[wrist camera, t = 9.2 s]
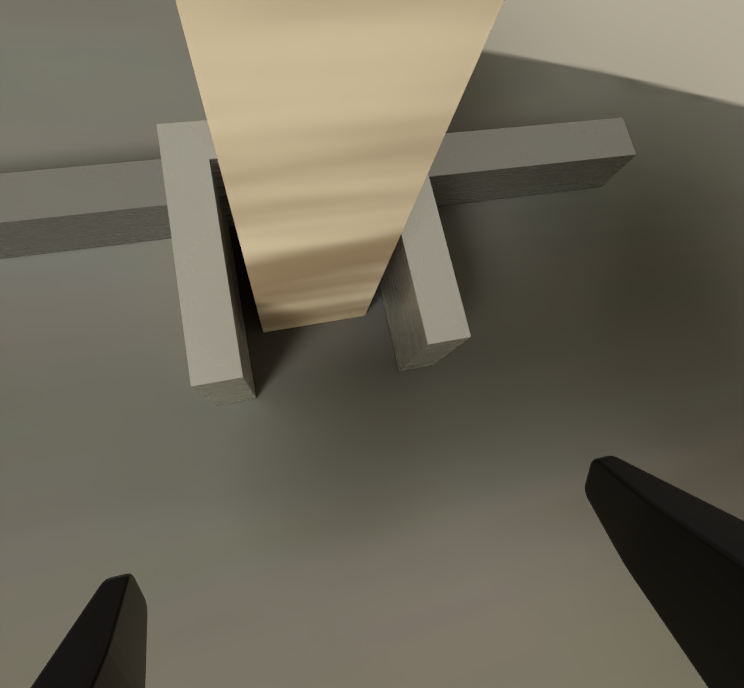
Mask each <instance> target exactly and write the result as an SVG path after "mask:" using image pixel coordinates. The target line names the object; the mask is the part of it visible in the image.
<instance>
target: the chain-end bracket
mask: <svg viewBox="0 0 744 688" xmlns="http://www.w3.org/2000/svg"><path fill="white" fill-rule="evenodd" d="M157 130H158V138H159V145H160V153H161V159H155V160H144V161H133V162H121V163H110V164H99V165H88V166H77V167H66V168H55V169H44V170H33V171H21V172H10V173H0V259H2V258H10V257H18V256H27V255H35V254H43V253H52V252H60V251H68V250H76V249H85V248H93V247H101V246H110V245H118V244H126V243H135V242H143V241H151V240H160V239H168V238H172V245H173V252H174V260H175V268H176V275H177V283H178V291H179V298H180V306H181V313H182V321H183V329H184V336H185V344H186V352H187V359H188V367H189V375H190V382H191V387H192V388H194V389H195V390H197V391H198V392H199V393H201V394H202V395H203V396H205V397H206V398H207V399H209V400H210V401H212V402H213V403H214V404H216V405H217V406H218V405H223V404H228V403H234V402H239V401H244V400H250V399H255V398H256V394H255V388H254V381H253V375H252V369H251V363H250V356H249V350H248V344H247V338H246V331H245V325H244V319H243V312H242V306H241V300H240V294H239V287H238V281H237V275H236V269H235V262H234V256H233V250H232V243H231V237H230V231H229V226H235V223H234V219H233V216H232V212H231V208H230V204H229V200H228V197H227V193H226V189H225V185H224V182H223V178H222V174H221V170H220V166H219V163H218V159H217V155H216V151H215V147H214V144H213V140H212V136H211V132H210V129H209V125H208V121H207V120H205V121H192V122H179V123H166V124H157ZM635 155H636V152H635V149H634V147H633V144H632V141H631V138H630V136H629V133H628V130H627V128H626V125H625V122H624V119H623V117H622V118H611V119H600V120H588V121H577V122H566V123H555V124H544V125H533V126H522V127H511V128H499V129H488V130H477V131H466V132H455V133H445V136H444V138H443V140H442V142H441V145H440V147H439V149H438V151H437V154H436V156H435V158H434V161H433V163H432V165H431V167H430V170H429V172H428V174H427V176H426V179H425V181H424V183H423V185H422V188H421V190H420V192H419V194H418V197H417V199H416V201H415V203H414V206H413V208H412V210H411V213H410V215H409V217H408V219H407V222H406V224H405V226H404V228H403V231H402V233H401V235H400V237H399V240H398V242H397V244H396V246H395V249H394V251H393V253H392V255H391V258H390V260H389V262H388V265H387V267H386V269H385V271H384V274H383V276H382V278H381V280H380V283H379V285H380V290H381V294H382V299H383V303H384V308H385V312H386V317H387V321H388V325H389V330H390V334H391V339H392V343H393V348H394V352H395V356H396V361H397V365H398V370H399V372H400V371H405V370H411V369H416V368H421V367H427V366H432V365H434V364H435V363H437V362H438V361H439V360H441V359H442V358H443V357H445V356H446V355H447V354H449V353H450V352H451V351H453V350H454V349H455V348H457V347H458V346H459V345H461V344H462V343H463V342H465V341H466V340H467V339H469V338H470V337H471V335H470V331H469V327H468V324H467V320H466V316H465V312H464V308H463V305H462V301H461V297H460V293H459V289H458V285H457V282H456V278H455V274H454V270H453V266H452V263H451V259H450V255H449V251H448V247H447V244H446V240H445V236H444V232H443V228H442V224H441V221H440V217H439V213H438V209H437V206H443V205H451V204H459V203H468V202H476V201H484V200H493V199H501V198H509V197H518V196H526V195H534V194H543V193H551V192H559V191H568V190H576V189H584V188H593V187H601V186H603V185H604V184H605V183H606V182H607V181H608V180H609V179H610V178H611V177H612V176H613V175H615V174H616V173H617V172H618V171H619V170H620V169H621V168H622V167H623V166H624V165H625V164H626V163H628V162H629V161H630V160H631V159H632V158H633V157H634V156H635Z"/></svg>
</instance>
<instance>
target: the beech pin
mask: <svg viewBox="0 0 744 688" xmlns="http://www.w3.org/2000/svg"><path fill="white" fill-rule="evenodd" d="M503 2H504V0H176V4H177V7H178V11H179V15H180V19H181V23H182V26H183V30H184V34H185V38H186V41H187V45H188V49H189V53H190V57H191V60H192V64H193V68H194V72H195V76H196V79H197V83H198V87H199V91H200V94H201V98H202V102H203V106H204V110H205V113H206V117H207V121H208V125H209V129H210V132H211V136H212V140H213V144H214V147H215V151H216V155H217V159H218V163H219V166H220V170H221V174H222V178H223V182H224V185H225V189H226V193H227V197H228V200H229V204H230V208H231V212H232V216H233V219H234V223H235V227H236V231H237V235H238V238H239V242H240V246H241V250H242V253H243V257H244V261H245V265H246V269H247V272H248V276H249V280H250V284H251V288H252V291H253V295H254V299H255V303H256V306H257V310H258V314H259V318H260V322H261V325H262V329H263V332H269V331H275V330H281V329H287V328H293V327H300V326H306V325H312V324H318V323H324V322H330V321H336V320H342V319H348V318H354V317H360V316H365V314H366V312H367V310H368V307H369V305H370V303H371V301H372V298H373V296H374V294H375V292H376V289H377V287H378V285H379V283H380V280H381V278H382V276H383V274H384V271H385V269H386V267H387V265H388V262H389V260H390V258H391V255H392V253H393V251H394V249H395V246H396V244H397V242H398V240H399V237H400V235H401V233H402V231H403V228H404V226H405V224H406V222H407V219H408V217H409V215H410V213H411V210H412V208H413V206H414V203H415V201H416V199H417V197H418V194H419V192H420V190H421V188H422V185H423V183H424V181H425V179H426V176H427V174H428V172H429V170H430V167H431V165H432V163H433V161H434V158H435V156H436V154H437V151H438V149H439V147H440V145H441V142H442V140H443V138H444V136H445V133H446V131H447V129H448V127H449V124H450V122H451V120H452V118H453V115H454V113H455V111H456V109H457V106H458V104H459V102H460V100H461V97H462V95H463V93H464V90H465V88H466V86H467V84H468V81H469V79H470V77H471V75H472V72H473V70H474V68H475V66H476V63H477V61H478V59H479V57H480V54H481V52H482V50H483V48H484V45H485V43H486V41H487V38H488V36H489V34H490V32H491V29H492V27H493V25H494V23H495V20H496V18H497V16H498V14H499V11H500V9H501V7H502V4H503Z"/></svg>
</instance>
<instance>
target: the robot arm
mask: <svg viewBox="0 0 744 688" xmlns="http://www.w3.org/2000/svg"><path fill="white" fill-rule="evenodd" d="M585 492H586V496H587V498H588V500H589V502H590V504H591V505H592V507H593V509H594V511H595V513H596V514H597V516H598V518H599V520H600V522H601V523H602V525H603V527H604V529H605V531H606V533H607V534H608V536H609V538H610V540H611V542H612V543H613V545H614V547H615V549H616V551H617V552H618V554H619V556H620V558H621V559H622V561H623V563H624V564H625V566H626V567H627V569H628V571H629V572H630V574H631V575H632V577H633V578H634V580H635V581H636V583H637V584H638V585H639V587H640V588H641V590H642V591H643V593H644V594H645V596H646V597H647V599H648V600H649V602H650V603H651V604H652V606H653V607H654V609H655V610H656V612H657V613H658V615H659V616H660V618H661V619H662V621H663V622H664V623H665V625H666V626H667V628H668V629H669V631H670V632H671V634H672V635H673V637H674V638H675V640H676V641H677V643H678V644H679V645H680V647H681V648H682V650H683V651H684V653H685V654H686V656H687V657H688V659H689V660H690V662H691V663H692V664H693V666H694V667H695V669H696V670H697V672H698V673H699V675H700V676H701V678H702V679H703V681H704V682H705V683H706V685H707V686H708V688H744V521H743V520H741V519H739V518H737V517H735V516H733V515H731V514H729V513H727V512H725V511H723V510H721V509H719V508H717V507H715V506H713V505H711V504H709V503H707V502H705V501H703V500H701V499H699V498H697V497H695V496H693V495H691V494H689V493H687V492H685V491H683V490H681V489H679V488H677V487H675V486H673V485H671V484H669V483H667V482H665V481H663V480H661V479H659V478H657V477H655V476H653V475H651V474H649V473H647V472H645V471H643V470H641V469H639V468H637V467H635V466H633V465H631V464H629V463H627V462H625V461H623V460H621V459H619V458H617V457H614V456H605V457H601V458H597V459H594V460H593V461H592V462H591V465H590V469H589V472H588V476H587V480H586V484H585ZM146 642H147V605H146V601H145V598H144V596H143V594H142V592H141V590H140V588H139V586H138V584H137V582H136V580H135V578H134V577H133V575H131V574H123V575H119V576H115V577H111V578H108V579H106V580H105V581H104V582H103V583H102V584H101V585H100V587H99V588H98V590H97V591H96V593H95V594H94V595H93V597H92V598H91V600H90V601H89V603H88V604H87V606H86V607H85V609H84V610H83V612H82V613H81V615H80V616H79V617H78V619H77V620H76V622H75V623H74V625H73V626H72V628H71V629H70V631H69V632H68V634H67V635H66V637H65V638H64V640H63V641H62V642H61V644H60V645H59V647H58V648H57V650H56V651H55V653H54V654H53V656H52V657H51V659H50V660H49V662H48V663H47V665H46V666H45V667H44V669H43V670H42V672H41V673H40V675H39V676H38V678H37V679H36V681H35V682H34V684H33V685H32V687H31V688H145V677H146Z"/></svg>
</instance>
